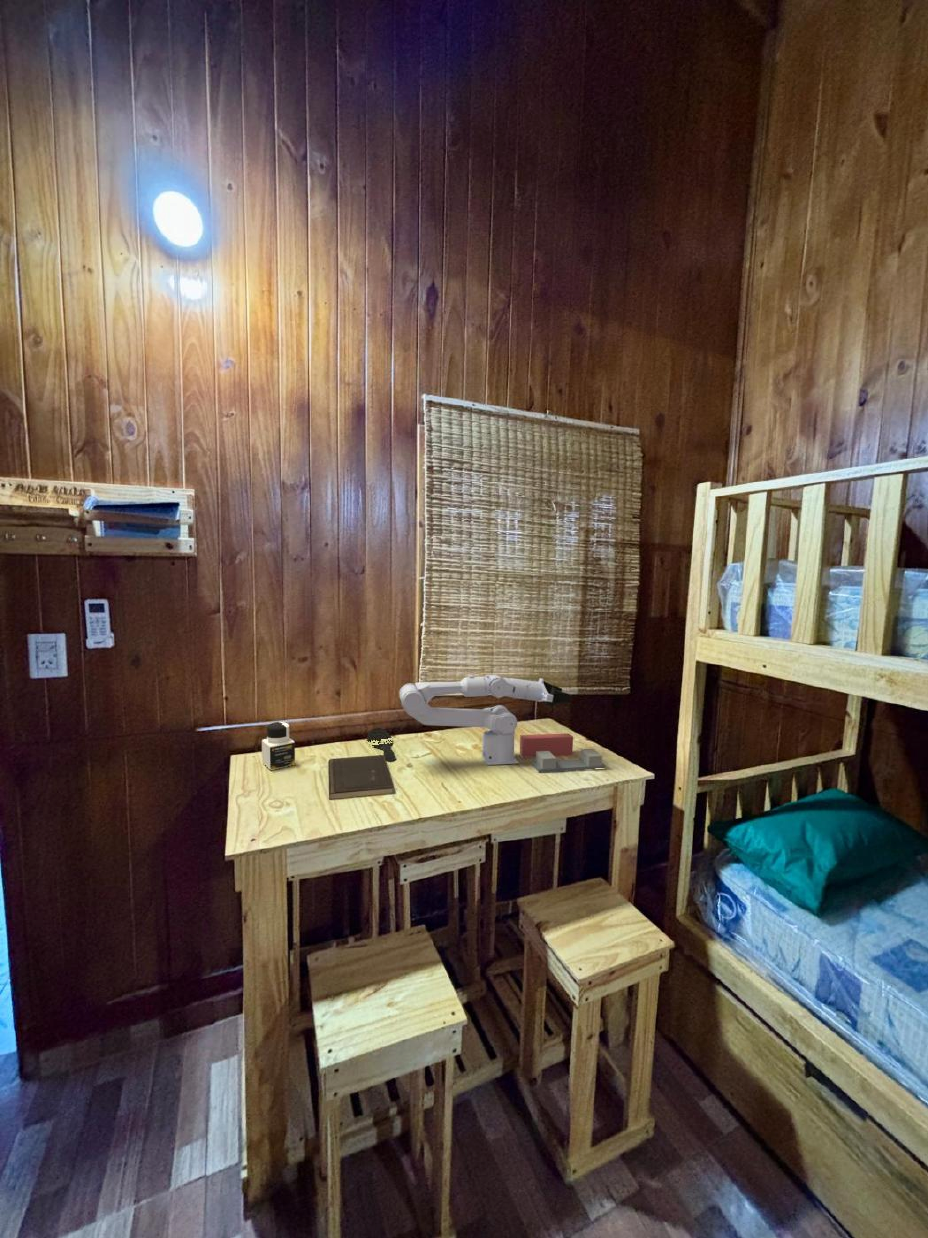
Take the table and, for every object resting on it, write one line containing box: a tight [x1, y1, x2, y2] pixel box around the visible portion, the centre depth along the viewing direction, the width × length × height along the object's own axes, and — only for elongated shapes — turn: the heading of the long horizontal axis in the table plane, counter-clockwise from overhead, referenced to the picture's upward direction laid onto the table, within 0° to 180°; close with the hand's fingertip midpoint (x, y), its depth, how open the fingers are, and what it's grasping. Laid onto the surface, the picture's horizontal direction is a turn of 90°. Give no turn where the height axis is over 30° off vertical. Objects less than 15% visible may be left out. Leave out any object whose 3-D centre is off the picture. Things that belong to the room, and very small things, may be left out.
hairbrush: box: [366, 725, 396, 763], centre depth 162 cm, size 8×4×25 cm
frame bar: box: [519, 732, 574, 758], centre depth 160 cm, size 16×4×6 cm, turn 100°
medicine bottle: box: [261, 721, 296, 771], centre depth 147 cm, size 7×7×12 cm
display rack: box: [531, 748, 606, 773], centre depth 149 cm, size 20×6×4 cm, turn 100°
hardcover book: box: [327, 754, 395, 800], centre depth 139 cm, size 16×23×2 cm
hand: (566, 695), depth 157 cm, fingers open, 7 cm apart
